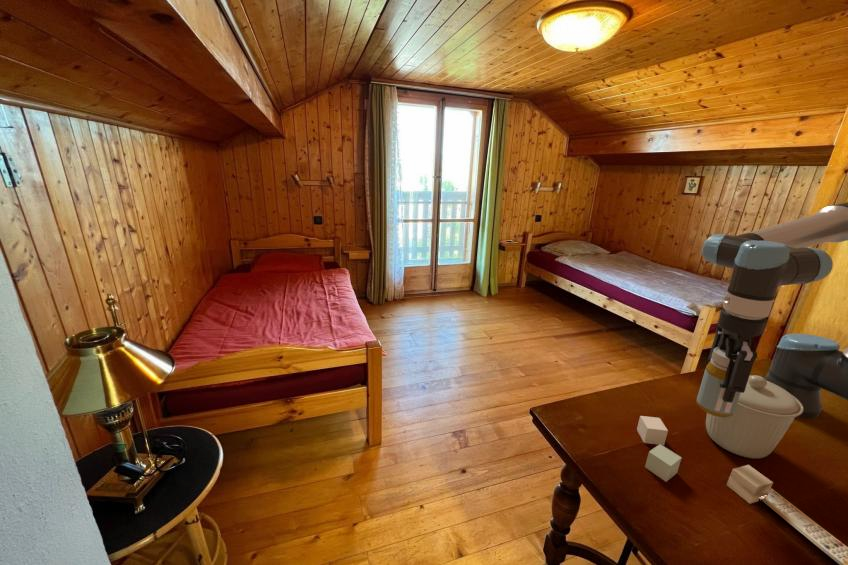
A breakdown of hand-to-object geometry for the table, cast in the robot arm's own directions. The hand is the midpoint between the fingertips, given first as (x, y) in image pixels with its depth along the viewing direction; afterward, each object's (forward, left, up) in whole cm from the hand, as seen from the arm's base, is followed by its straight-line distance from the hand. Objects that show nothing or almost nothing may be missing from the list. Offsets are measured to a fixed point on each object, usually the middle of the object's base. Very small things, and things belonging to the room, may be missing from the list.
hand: (715, 402), depth 83 cm
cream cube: (+6, -9, -19) cm, 22 cm away
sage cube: (+10, +2, -19) cm, 22 cm away
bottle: (0, 0, -2) cm, 2 cm away
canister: (-16, -7, -19) cm, 26 cm away
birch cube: (-6, +8, -19) cm, 21 cm away
